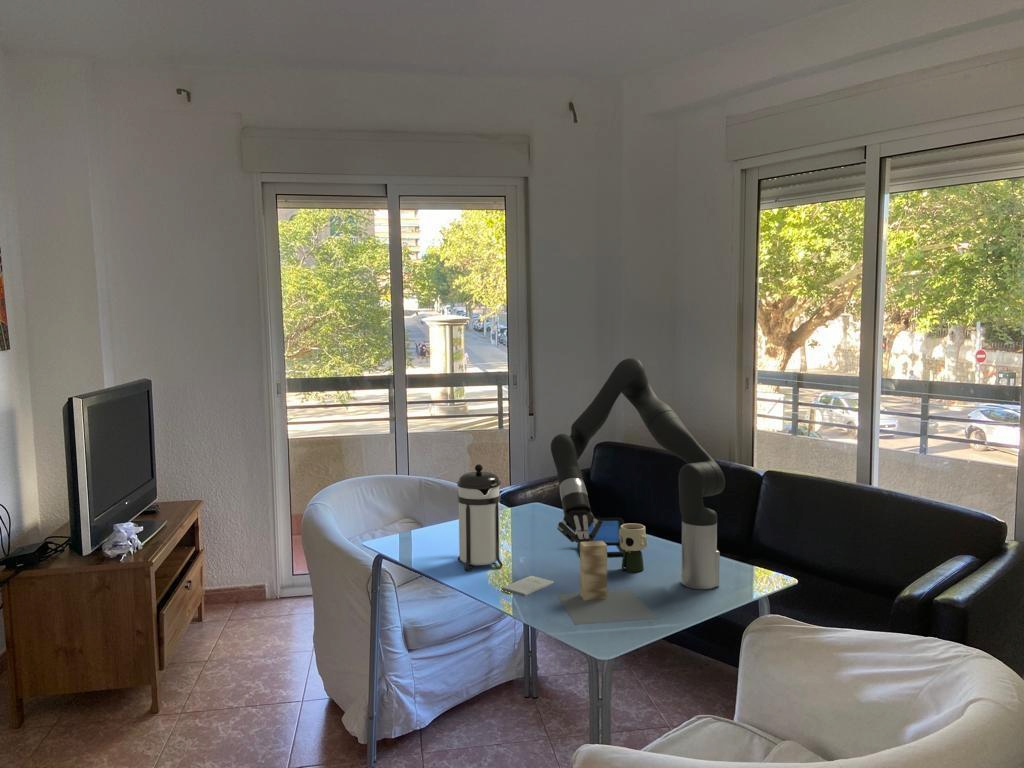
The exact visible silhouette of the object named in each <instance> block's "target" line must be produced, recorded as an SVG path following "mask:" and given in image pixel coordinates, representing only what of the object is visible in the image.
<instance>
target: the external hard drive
mask: <svg viewBox="0 0 1024 768" xmlns="http://www.w3.org/2000/svg"><path fill="white" fill-rule="evenodd" d="M553 584H555V582H554V581H553V580H549V579H547V578H543V577H539V576H536V575H535V576H534V575H529V576H526V577H525V578H522V579H519V580H517V581H515V582H512V583H510V584H506V585H504V586H502V587H501V591H502V590H503V591H507V592H510V593H514V594H517V595H521V596H524V597H527V596H529V595H530V594H533V593H535V592H537V591H540V590H542V589H544V588H546V587H549V586H551V585H553ZM503 591H502V592H503ZM507 592H506V593H507ZM510 593H509V594H510Z"/></svg>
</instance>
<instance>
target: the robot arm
mask: <svg viewBox="0 0 1024 768" xmlns="http://www.w3.org/2000/svg"><path fill="white" fill-rule="evenodd" d="M621 394H622V395H623V396H624V397H625V398H626V399H627V400H628V401H629V402H630V404H632V406H633V407H634V409H636V410H637V413H638V414H639V416H640V419H641V420H642V422H643V423H644V425H645V427H646V428H647V430H648V432H649V433H650V435H651V436H652V437H653V439H654V440H655V442H657V444H658V445H659V446H661V447H662V448H663V449H665V450H666V451H668V452H670V453H671V454H673V455H674V456H676V457H678V458H679V459H681V460H683V461H684V463H686V464H684V465H683V466H682V467H681V468H680V470H679V472H678V497H679V498H678V500H679V501H678V503H679V512H680V513H681V514H680V515H681V569H680V570H681V575H680V576H681V578H680V579H681V584H682V585H683V587H686V588H688V589H689V588H690V589H693V590H711V589H713V588H716V587H720V565H721V563H720V562H721V560H720V559H721V557H720V555H721V554H720V553H721V552H720V551H719V550H718V547H717V546H718V514H717V512H716V511H715V510H714V509H711V508H709V507H705V505H704V498H705V497H712V496H716V495H719V494H721V493H722V492H723V491H724V489H725V488H726V478H725V474H724V472H723V470H722V469H721V467H720V465H719V464H718V463H717V462H716V461H715V460H714V458H712V457H711V455H710V454H709V453H708V452H707V451H706V450H705V449H704V448H703V447H702V446H701V445H700V443H699V442H698V441H697V439H696V438H695V437H694V436H693V435H692V434H691V432H690V431H689V430H688V428H687V427H686V425H685V424H684V423H683V421H682V419H680V417H679V416H678V415H677V413H676V412H675V410H674V409H673V408H672V407H671V406H670V405H668V404H667V403H665V402H664V401H662V400H661V399H660V398H658V396H657V395H656V394H655V391H654V390H653V388H652V387H651V385H650V383H649V380H648V376H647V373H646V370H645V367H644V365H643V363H642V362H641V361H640V359H638V358H635V357H628V358H625V359H623V360H622V361H620V362H618V363H617V365H616V366H615V368H614V369H613V371H611V374H610V375H609V377H608V378H607V379H606V381H605V383H604V384H603V386H602V387H601V389H600V390H599V392H598V393H597V395H596V396H595V397H594V399H593V400H592V402H591V403H590V404H589V405H588V406H587V407H586V408H585V409H584V411H582V413H581V414H580V415H579V416H578V417H577V419H575V420H574V422H573V423H572V424H571V427H570V428H571V429H570V431H571V432H570V435H568V434H566V433H560V434H557V435H555V436H554V438H552V440H551V442H550V453H551V455H552V459H553V462H554V463H553V464H554V466H555V469H556V473H557V479H558V484H559V485H558V486H559V495H560V499H561V501H560V502H561V506H562V510H563V520H562V521H559V522H558V525H557V528H556V529H557V530H558V531H559V533H561V534H562V535H563V536H564V537H565V538H566V539H567V540H569V541H570V542H571V543H574V542H575V543H577V545H578V546H579V550H578V552H579V551H580V542H589V541H592V540H593V539H594V538H595V536H596V534H597V533H598V531H599V529H600V528H601V525H602V523H603V521H602V520H599V521H598V520H597V519H595V518H596V517H595V516H594V514H593V512H592V509H591V503H590V501H589V497H588V495H589V494H588V491H587V488H586V487H587V486H586V485H585V481H584V478H583V473H582V470H581V467H580V465H579V462H578V461H579V459H580V458H581V456H582V455H583V453H584V452H585V450H586V448H587V447H588V445H589V443H590V440H592V438H593V437H594V436H595V435H596V434H597V433H598V432H599V430H601V428H603V426H604V425H605V423H606V422H607V419H608V417H609V415H610V414H611V411H612V409H613V407H614V405H615V402H616V401H617V400H618V398H619V397H620V395H621ZM592 522H593V527H594V529H593V531H592V532H591V534H589V533H588V529H589V527H590V526H591V524H592Z"/></svg>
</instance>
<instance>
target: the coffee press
mask: <svg viewBox="0 0 1024 768" xmlns="http://www.w3.org/2000/svg"><path fill="white" fill-rule="evenodd" d="M483 468H484V467H483V466H482V464H479V463H478V464H476V465H475V466H474V470H475V471H470V472H469V471H468V472H466V473H463V474H462V475H461V476H459V479H458V481H457V482H456V483H457V484H456V485H457V488H458V489H457V490H458V494H457V502H458V542H459V543H458V549H459V551H458V552H459V555H458V556H457V561H458V562H459V563H461V562H463V563H464V564H465V565H464V571H465V572H471V571H472V568H473V567H474V566H486V565H490V564H491V565H494V567H496V568H497V569H498V568H499V569H501V568H502V567H503V565H504V564H503V562H502V561H501V559H500V558H501V557H500V556H501V537H500V536H501V529H500V528H501V521H500V520H501V519H500V518H501V517H500V515H501V513H500V508H501V507H500V506H501V505H500V502H501V493H500V487H501V485H502V484H501V480H500V478H499V477H498V475H496V474H495V473H493V472H489V471H483Z"/></svg>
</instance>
